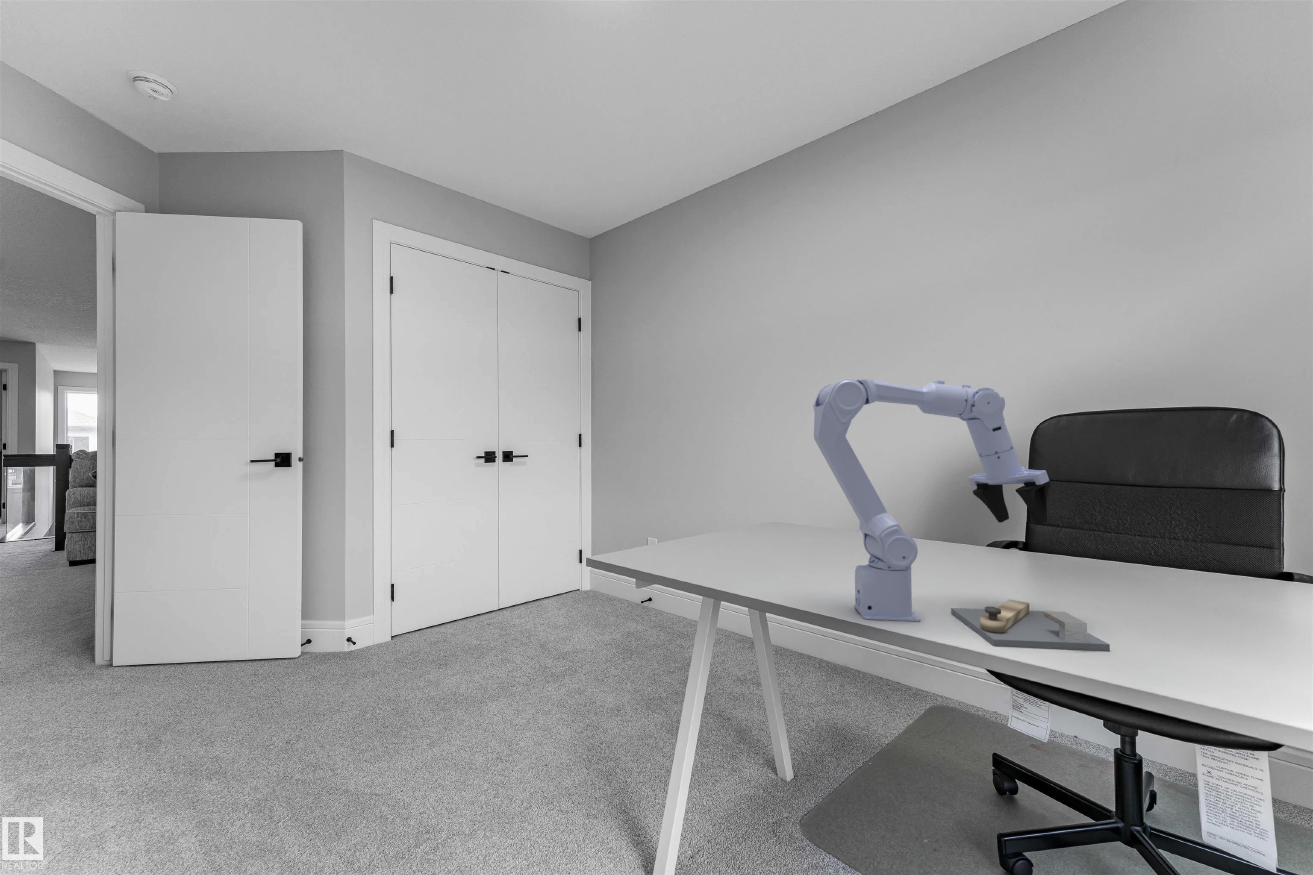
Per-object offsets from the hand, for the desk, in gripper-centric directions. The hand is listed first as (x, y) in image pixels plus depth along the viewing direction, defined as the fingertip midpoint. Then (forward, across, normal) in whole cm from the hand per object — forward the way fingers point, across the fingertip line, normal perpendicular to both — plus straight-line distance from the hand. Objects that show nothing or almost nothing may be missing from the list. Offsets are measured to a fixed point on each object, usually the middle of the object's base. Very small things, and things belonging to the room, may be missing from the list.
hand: (1022, 521), depth 97 cm
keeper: (+14, -11, +12) cm, 22 cm away
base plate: (+14, -5, +13) cm, 20 cm away
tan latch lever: (+12, -3, +14) cm, 19 cm away
